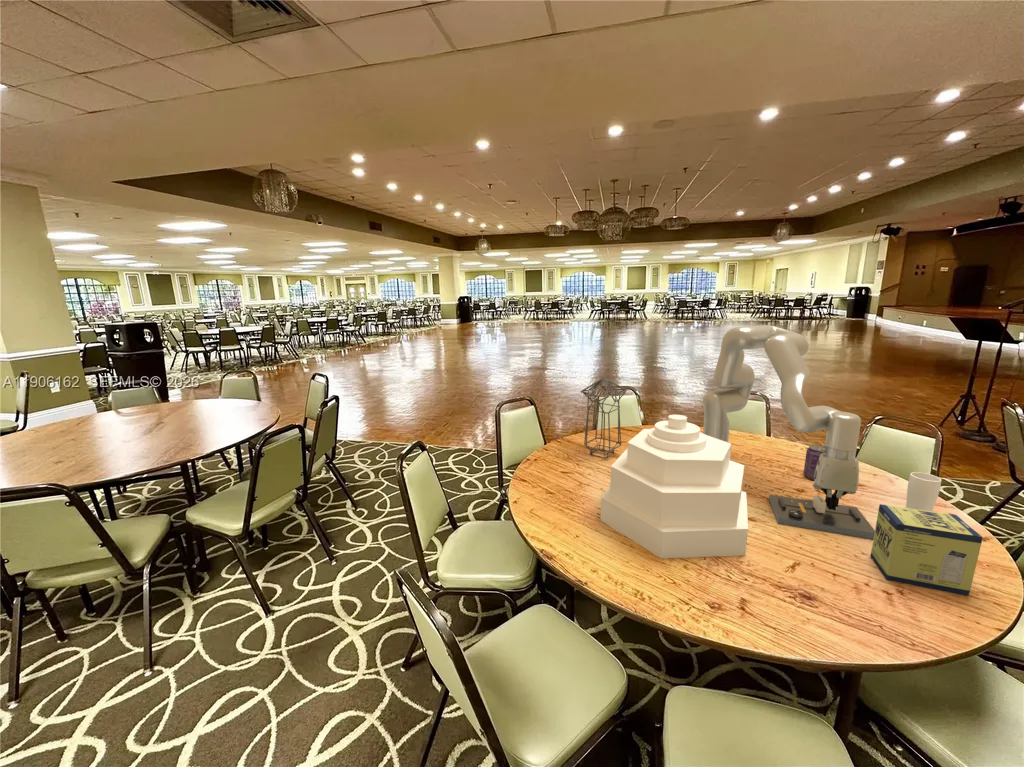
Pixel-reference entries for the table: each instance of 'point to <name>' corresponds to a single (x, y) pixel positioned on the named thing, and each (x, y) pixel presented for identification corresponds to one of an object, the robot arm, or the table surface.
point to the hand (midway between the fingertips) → (830, 507)
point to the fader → (819, 504)
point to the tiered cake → (678, 493)
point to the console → (820, 517)
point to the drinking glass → (922, 491)
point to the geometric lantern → (596, 385)
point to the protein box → (925, 549)
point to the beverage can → (811, 460)
